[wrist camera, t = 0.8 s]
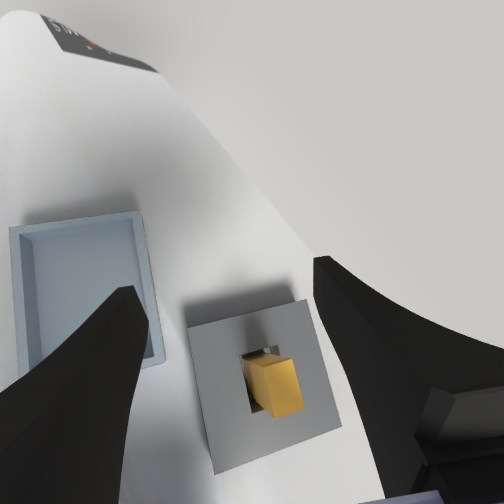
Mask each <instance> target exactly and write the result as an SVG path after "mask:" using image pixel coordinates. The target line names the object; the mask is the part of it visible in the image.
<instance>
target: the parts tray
mask: <svg viewBox="0 0 504 504" xmlns="http://www.w3.org/2000/svg"><path fill="white" fill-rule="evenodd" d="M9 238H10V252H11V267H12V282H13V296H14V311H15V325H16V340H17V354H18V369H19V379H20V378H21V377H23V376H24V375H25V374H27V373H28V372H29V371H30V370H32V369H33V368H34V367H35V366H36V365H38V364H39V363H40V362H41V361H43V360H44V359H45V358H46V357H47V356H48V355H50V354H51V353H52V352H53V351H54V350H55V349H56V348H58V347H59V346H60V345H61V344H62V343H63V342H64V341H65V340H66V339H67V338H68V337H69V336H70V335H71V334H72V333H73V332H74V331H75V330H77V329H78V328H79V327H80V326H81V325H82V324H83V323H84V322H85V321H86V320H87V319H88V317H89V316H90V315H91V314H92V313H93V312H94V311H95V310H96V309H97V308H98V307H99V306H100V305H101V304H102V303H103V302H104V301H105V300H106V299H107V298H108V297H109V296H110V295H111V294H112V293H113V292H114V291H115V290H116V289H117V288H118V287H124V286H130V285H134V287H135V290H136V292H137V294H138V297H139V299H140V301H141V304H142V306H143V308H144V311H145V313H146V316H147V318H148V320H149V328H148V337H147V345H146V349H145V353H144V357H143V361H142V365H141V369H143V368H147V367H151V366H154V365H158V364H162V363H165V361H166V354H165V349H164V343H163V337H162V331H161V325H160V319H159V313H158V308H157V302H156V296H155V290H154V284H153V278H152V273H151V267H150V261H149V255H148V249H147V243H146V238H145V232H144V226H143V221H142V218H141V215H140V213H139V210H135V211H128V212H120V213H113V214H105V215H98V216H91V217H83V218H76V219H68V220H61V221H53V222H46V223H39V224H31V225H24V226H16V227H9Z"/></svg>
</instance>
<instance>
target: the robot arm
mask: <svg viewBox="0 0 504 504" xmlns="http://www.w3.org/2000/svg"><path fill="white" fill-rule="evenodd" d="M313 297H314V300H315V303H316V307H317V310H318V313H319V316H320V319H321V321H322V323H323V325H324V327H325V330H326V332H327V334H328V336H329V338H330V340H331V343H332V345H333V347H334V349H335V351H336V353H337V355H338V358H339V360H340V362H341V364H342V366H343V369H344V371H345V373H346V376H347V379H348V381H349V384H350V387H351V390H352V393H353V396H354V399H355V401H356V404H357V407H358V410H359V413H360V416H361V419H362V422H363V425H364V429H365V432H366V435H367V438H368V441H369V445H370V448H371V451H372V454H373V457H374V461H375V464H376V467H377V471H378V474H379V478H380V481H381V484H382V488H383V491H384V495H385V498H386V499H382V500H376V501H370V502H364V503H359V504H504V349H502V348H500V347H497V346H493V345H490V344H487V343H484V342H481V341H478V340H476V339H473V338H471V337H468V336H465V335H463V334H460V333H457V332H455V331H453V330H450V329H448V328H445V327H443V326H441V325H438V324H436V323H434V322H432V321H430V320H427V319H425V318H423V317H421V316H419V315H417V314H415V313H413V312H411V311H409V310H408V309H405V308H404V307H402V306H400V305H398V304H396V303H395V302H393V301H391V300H390V299H388V298H386V297H385V296H383V295H382V294H380V293H379V292H377V291H375V290H374V289H372V288H371V287H369V286H368V285H367V284H365V283H364V282H362V281H361V280H360V279H358V278H357V277H355V276H354V275H353V274H352V273H350V272H349V271H348V270H346V269H345V268H344V267H343V266H341V265H340V264H339V263H337V262H336V261H334V260H333V259H332V258H331V257H330V256H322V257H316V258H314V263H313ZM148 328H149V320H148V318H147V316H146V313H145V311H144V308H143V306H142V304H141V301H140V299H139V297H138V294H137V292H136V290H135V287H134V285H130V286H124V287H118V288H117V289H116V290H115V291H114V292H113V293H112V294H111V295H110V296H109V297H108V298H107V299H106V300H105V301H104V302H103V303H102V304H101V305H100V306H99V307H98V308H97V309H96V310H95V311H94V312H93V313H92V314H91V315H90V316H89V317H88V319H87V320H86V321H85V322H84V323H83V324H82V325H81V326H80V327H79V328H78V329H77V330H75V331H74V332H73V333H72V334H71V335H70V336H69V337H68V338H67V339H66V340H65V341H64V342H63V343H62V344H61V345H60V346H59V347H58V348H56V349H55V350H54V351H53V352H52V353H51V354H50V355H48V356H47V357H46V358H45V359H44V360H43V361H41V362H40V363H39V364H38V365H36V366H35V367H34V368H33V369H32V370H30V371H29V372H28V373H27V374H25V375H24V376H23V377H21V378H20V379H19V380H17V381H16V382H14V383H13V384H12V385H10V386H9V387H8V388H6V389H5V390H4V391H2V392H1V393H0V504H118V500H119V490H120V481H121V471H122V463H123V455H124V447H125V439H126V433H127V426H128V420H129V413H130V408H131V404H132V399H133V395H134V392H135V388H136V384H137V380H138V376H139V373H140V369H141V365H142V361H143V357H144V353H145V349H146V345H147V337H148Z"/></svg>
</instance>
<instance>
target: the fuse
mask: <svg viewBox="0 0 504 504" xmlns="http://www.w3.org/2000/svg"><path fill="white" fill-rule="evenodd" d="M243 364H244V368H245V373H246V377H247V382H248V386H249V391H250V395H251V397H252V398H253V399H254V400H255V401H256V402H257V403H259V404H260V405H261V406H262V407H263V408H264V409H265V410H266V411H267V412H268V413H269V414H270V415H271V416H272V417H273V418H274V419H276V418H279V417H282V416H285V415H287V414H290V413H293V412H296V411H299V410H302V409H305V407H304V403H303V400H302V396H301V392H300V388H299V384H298V380H297V376H296V372H295V369H294V365H293V361H292V359H291V358H286V357H282V356H278V355H273V354H269V353H265V352H264V353H261V354H257V355H254V356H250V357H247V358H243Z"/></svg>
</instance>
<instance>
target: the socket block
mask: <svg viewBox="0 0 504 504" xmlns="http://www.w3.org/2000/svg"><path fill="white" fill-rule="evenodd" d="M187 332H188V338H189V343H190V348H191V354H192V359H193V364H194V369H195V375H196V380H197V385H198V391H199V396H200V401H201V406H202V412H203V417H204V422H205V428H206V433H207V438H208V443H209V449H210V454H211V459H212V464H213V469H214V474H215V475H216V474H219V473H221V472H224V471H227V470H229V469H232V468H234V467H237V466H240V465H242V464H245V463H248V462H250V461H253V460H255V459H258V458H261V457H263V456H266V455H269V454H271V453H274V452H276V451H279V450H282V449H284V448H287V447H290V446H292V445H295V444H297V443H300V442H303V441H305V440H308V439H310V438H313V437H316V436H318V435H321V434H324V433H326V432H329V431H331V430H334V429H337V428H339V427H342V425H341V421H340V418H339V414H338V410H337V407H336V403H335V400H334V396H333V392H332V389H331V385H330V382H329V378H328V375H327V371H326V367H325V364H324V360H323V357H322V353H321V349H320V346H319V342H318V339H317V335H316V332H315V328H314V324H313V321H312V317H311V314H310V310H309V307H308V303H307V299H305V300H301V301H297V302H293V303H289V304H284V305H280V306H276V307H272V308H268V309H264V310H260V311H256V312H252V313H248V314H243V315H239V316H235V317H231V318H227V319H223V320H219V321H215V322H211V323H206V324H202V325H198V326H194V327H190V328H187ZM267 347H270V348H271V352H272V354H273V355H278V356H282V357H286V358H291V359H292V361H293V365H294V369H295V372H296V376H297V380H298V384H299V388H300V392H301V396H302V400H303V403H304V407H305V409H302V410H299V411H296V412H293V413H290V414H287V415H285V416H282V417H279V418H276V419H274V418H273V417H272V416H271V415H270V414H269V413H268V412H267V411H266V410H265V409H264V408H263V407H262V406H261V405H260V404H259V403H254V404H251V405H250V403H249V398H248V394H247V389H246V385H245V380H244V376H243V371H242V367H241V362H240V358H239V355H242V354H246V353H249V352H253V351H257V350H260V349H264V348H267Z"/></svg>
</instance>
